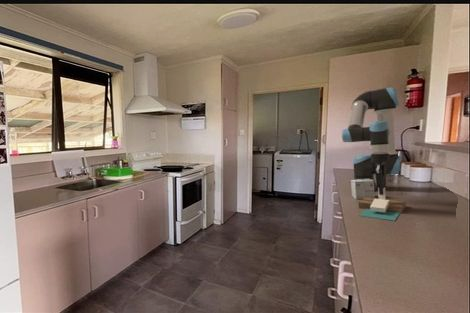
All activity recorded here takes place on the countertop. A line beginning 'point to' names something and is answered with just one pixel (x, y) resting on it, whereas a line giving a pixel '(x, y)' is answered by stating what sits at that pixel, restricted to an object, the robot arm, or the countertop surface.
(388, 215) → the mat
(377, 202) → the cream rectangular block
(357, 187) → the light bulb box
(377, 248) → the countertop surface
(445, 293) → the countertop surface
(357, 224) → the countertop surface
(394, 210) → the brown flat wooden board
